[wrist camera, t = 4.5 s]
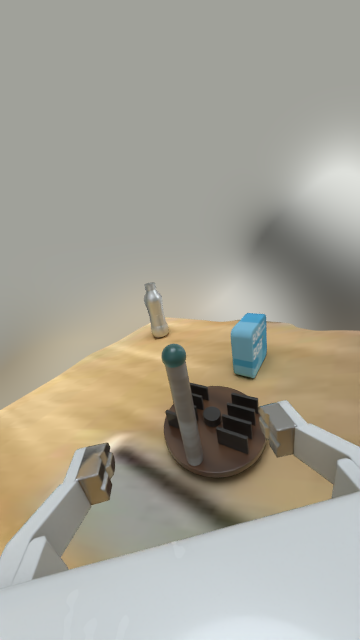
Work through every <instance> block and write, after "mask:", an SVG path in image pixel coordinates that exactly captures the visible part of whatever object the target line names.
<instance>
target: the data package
mask: <svg viewBox="0 0 360 640" xmlns="http://www.w3.org/2000/svg"><path fill="white" fill-rule="evenodd" d="M231 345H232V356H233V368H234V373H235V374H238V375H243V376H247V377H251V378H255V376H256V374H257V372H258V370H259V368H260V366H261V364H262V362H263V360H264V358H265V356H266V352H267V339H266V315H265V314H253V313H247V314H245V316H244V317H243V318H242V319H241V320H240V321H239V322H238V323H237V324H236V325H235V326H234V328H233V329H232V331H231Z"/></svg>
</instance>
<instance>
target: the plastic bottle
mask: <svg viewBox="0 0 360 640" xmlns="http://www.w3.org/2000/svg"><path fill="white" fill-rule="evenodd" d="M155 288H156V286H155V283H148V284H145V290H146V294H145V296H144V302H145V305H146V307H147V310H148V313H149V316H150V321H151V332H152V334H153V336H155V337H163V336H165V335H167V334H168V331H169V329H168V325H167V323H166V320H165V317H164V313H163V307H162V296H161V295H160V293H158V291H157V290H156V289H155Z"/></svg>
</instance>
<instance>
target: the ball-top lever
mask: <svg viewBox="0 0 360 640" xmlns="http://www.w3.org/2000/svg"><path fill="white" fill-rule="evenodd" d="M185 360H186V352H185V350H184V349H183V347H182V346H180V345H178V344H170V345H168V346H166V347H165V348H164V350H163V352H162V361H163V363H164V364H165V367H166V371H167V376H168V380H169V384H170V388H171V393H172V397H173V403H174V404H173V405H172V407H171V408H170V410H166V419H165V423H164V436H165V440H166V444H167V447H168V449H169V451H170V453H171V454H172V456H173V457H174V459H175V460H176V461H177V462H178V463H179V464H180V465H182V466H183V467H184V468H186V469H187V470H189V471H191V472H193V473H196V474H198V475H202V476H206V477H214V478H217V477H227V476H232V475H235V474H238V473H240V472H242V471H244V470H246V469H247V468H249V467H250V466H251V465H253V464H254V463H255V462H256V460H257V459H258V458H259V457H260V455H261V454H262V452H263V450H264V447H265V444H266V439H267V438H265V437H264V435H263V433H262V431H261V429H260V425H259V417H260V414H259V412H258V408H259V407H258V398H255V397H250V396H247V395H245V394H244V393H242V392H240V391H237V390H235V389H231V388H228V387H221V386H209V387H206V386H202V385H198V384H193V383H190V382H189V377H188V372H187V366H186V361H185Z"/></svg>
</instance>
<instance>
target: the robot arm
mask: <svg viewBox="0 0 360 640" xmlns="http://www.w3.org/2000/svg"><path fill="white" fill-rule="evenodd" d="M258 412H259V414H260V417H259V425H260V429H261V431H262V433H263V435H264V437H265V438H267V439H268V440H270V447H271V448H272V450H273V452H274V453H275V455H276V457H277V458H278V457H283V456H287V455H292V454H294V456H296V457H297V458H298V459H300V460H301V461H302V462H304V463H305V464H306V465H308V466H309V467H311V468H312V469H313V470H315V471H316V472H317V473H319V474H320V475H321V476H323V477H324V478H325V479H327V480H328V481H330V482H331V483H332V484H334V486H333V492H332V499H329V500H325V501H322V502H318V503H314V504H311V505H307V506H303V507H300V508H296V509H292V510H289V511H285V512H281V513H277V514H274V515H270V516H266V517H263V518H259V519H255V520H251V521H248V522H244V523H240V524H236V525H233V526H229V527H225V528H222V529H218V530H214V531H211V532H207V533H203V534H199V535H196V536H192V537H188V538H185V539H181V540H177V541H174V542H170V543H166V544H163V545H159V546H155V547H151V548H148V549H144V550H140V551H137V552H133V553H129V554H126V555H122V556H118V557H115V558H111V559H107V560H103V561H100V562H96V563H92V564H89V565H85V566H81V567H78V568H74V569H70V570H69V569H68V567H67V565H66V564H65V563H64V561H63V560H62V559H61V556H62V554H63V553H64V551H65V549H66V548H67V546H68V544H69V543H70V541H71V540H72V538H73V536H74V535H75V533H76V531H77V530H78V528H79V526H80V525H81V523H82V521H83V520H84V518H85V516H86V515H87V513H88V511H89V510H90V508H91V505H94V504H97V503H101V502H104V501H108V500H110V494H111V488H112V483H111V480H110V479H111V478H112V476H113V475H114V471H115V459H114V455H113V453H111V452H109V451H110V446H109V444H108V443H103V444H98V445H94V446H89V447H85V448H80V449H77V450H76V452H75V453H74V456H73V459H72V461H71V464H70V466H69V469H68V471H67V474H66V477H65V479H64V482H63V484H61V485H59V486H58V487H57V488H56V489H55V490H54V492H53V493H52V494H51V495H50V496H49V497H48V498H47V499H46V501H45V502H44V503H43V504H42V505H41V506H40V507H39V508H38V510H37V511H36V512H35V513H34V514H33V515H32V516H31V517H30V519H29V520H28V521H27V522H26V523H25V524H24V525H23V526H22V528H21V529H20V530H19V531H18V532H17V533H16V534H15V535H14V537H13V538H12V539H11V540H10V541H9V542H8V543H7V545H6V547H5V549H4V551H3V553H2V555H1V557H0V640H360V447H359V446H356V445H354V444H352V443H350V442H348V441H346V440H344V439H342V438H340V437H338V436H336V435H334V434H332V433H330V432H327V431H325V430H323V429H321V428H319V427H317V426H315V425H313V424H307V422H306V421H305V420H304V419H303V418H302V417H301V416H300V415H299V413H298V412H297V411H296V410H295V409H294V408H293V407H292V406H291V404H290V403H289V402H288V401H286V400H285V401H280V402H277V403H272V404H268V405H264V406H260V407H259V408H258Z"/></svg>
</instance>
